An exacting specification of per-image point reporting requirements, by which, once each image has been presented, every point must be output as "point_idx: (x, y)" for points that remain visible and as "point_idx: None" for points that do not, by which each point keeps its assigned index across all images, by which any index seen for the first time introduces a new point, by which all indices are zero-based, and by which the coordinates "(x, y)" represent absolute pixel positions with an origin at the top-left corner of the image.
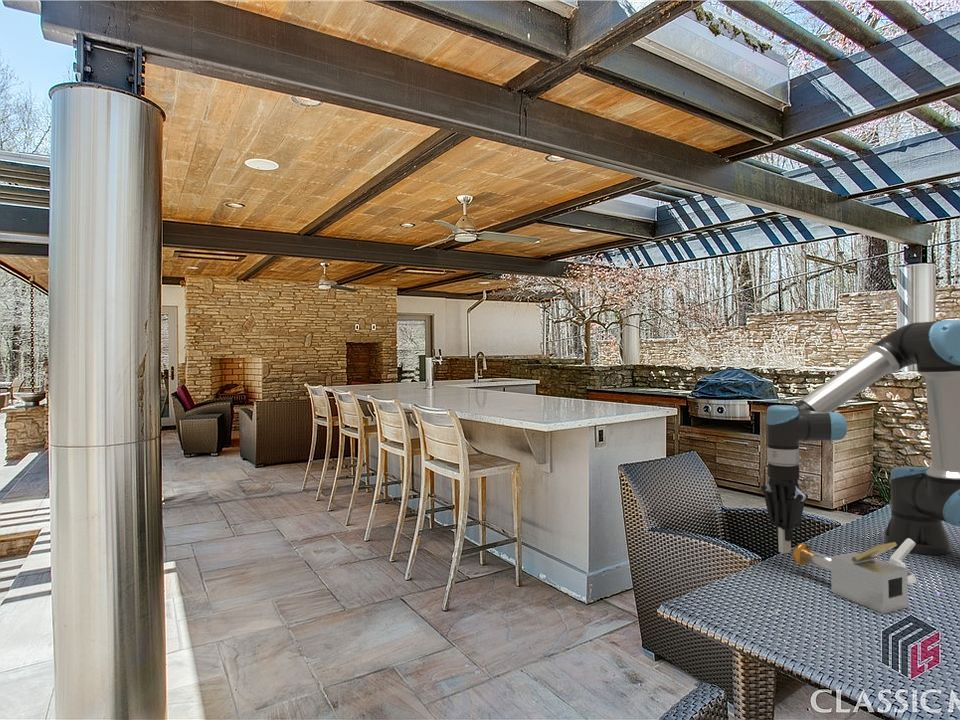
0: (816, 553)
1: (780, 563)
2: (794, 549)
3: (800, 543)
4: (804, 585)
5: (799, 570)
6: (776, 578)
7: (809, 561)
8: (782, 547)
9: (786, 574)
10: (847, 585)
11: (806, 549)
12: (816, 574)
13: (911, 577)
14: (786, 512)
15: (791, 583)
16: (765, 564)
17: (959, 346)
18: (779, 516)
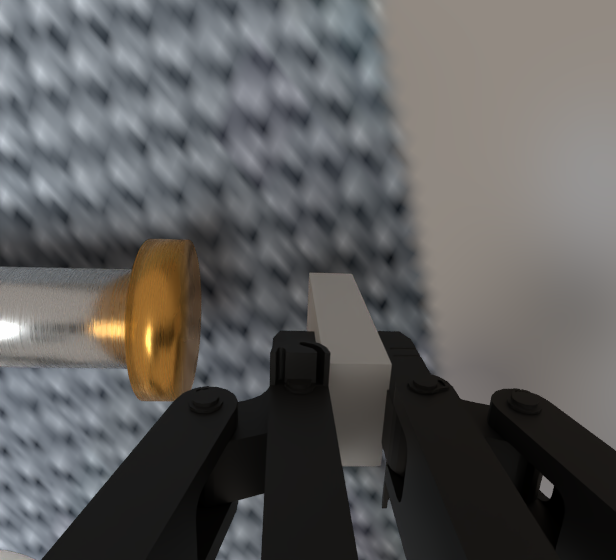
0: (5, 328)
1: (367, 291)
2: (170, 267)
3: (162, 354)
4: (40, 114)
5: (239, 295)
6: (193, 47)
7: (70, 268)
8: (318, 287)
9: (221, 171)
10: None
11: (111, 337)
12: None
13: None
14: (266, 550)
15: (92, 64)
16: (399, 196)
17: None
18: (423, 475)
